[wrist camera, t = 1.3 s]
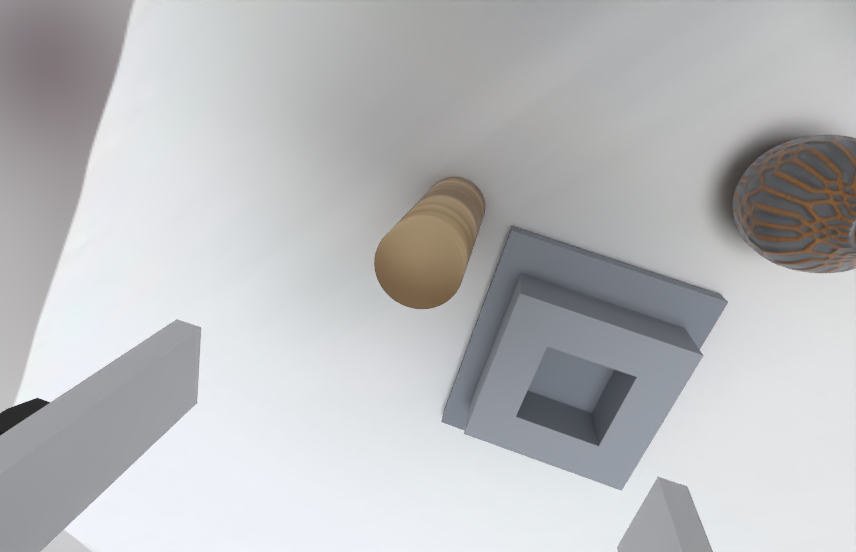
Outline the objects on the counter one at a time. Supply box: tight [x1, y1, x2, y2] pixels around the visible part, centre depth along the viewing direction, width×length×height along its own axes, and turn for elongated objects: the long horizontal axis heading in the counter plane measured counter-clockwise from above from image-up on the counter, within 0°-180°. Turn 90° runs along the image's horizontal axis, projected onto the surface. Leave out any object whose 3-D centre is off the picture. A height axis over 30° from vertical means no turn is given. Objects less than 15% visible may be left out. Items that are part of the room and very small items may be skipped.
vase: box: [733, 135, 856, 273], centre depth 24 cm, size 7×7×9 cm
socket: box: [441, 226, 728, 490], centre depth 33 cm, size 16×14×5 cm
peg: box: [374, 177, 485, 309], centre depth 27 cm, size 4×4×12 cm
